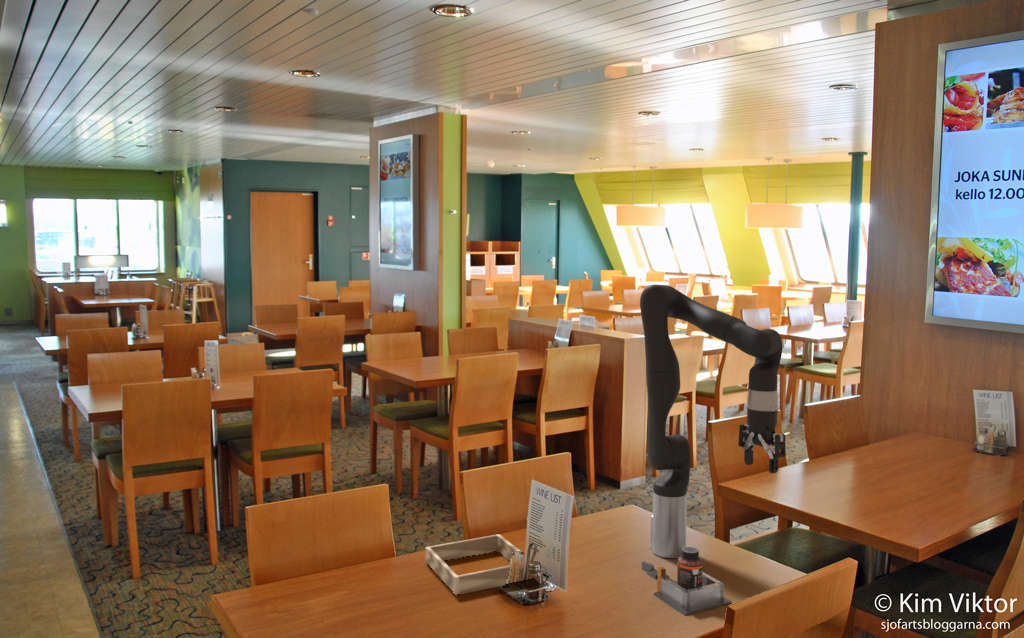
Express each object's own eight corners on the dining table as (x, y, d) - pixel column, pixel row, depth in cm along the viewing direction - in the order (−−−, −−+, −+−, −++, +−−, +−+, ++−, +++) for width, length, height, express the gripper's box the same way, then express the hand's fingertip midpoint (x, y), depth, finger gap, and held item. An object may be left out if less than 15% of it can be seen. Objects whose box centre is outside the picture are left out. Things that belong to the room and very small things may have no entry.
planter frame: (425, 563, 206) (425, 547, 205) (499, 549, 215) (499, 534, 215) (455, 595, 186) (455, 577, 186) (534, 578, 195) (534, 561, 195)
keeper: (653, 594, 186) (653, 568, 186) (698, 583, 192) (698, 558, 192) (684, 615, 175) (685, 588, 175) (731, 603, 181) (732, 576, 181)
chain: (639, 568, 202) (639, 562, 201) (646, 567, 203) (646, 560, 202) (672, 589, 189) (672, 582, 189) (679, 587, 190) (679, 581, 190)
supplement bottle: (702, 601, 181) (703, 555, 180) (677, 599, 183) (677, 553, 182) (701, 590, 187) (702, 546, 186) (676, 588, 188) (677, 544, 187)
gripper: (731, 403, 199) (730, 463, 201) (772, 413, 187) (770, 477, 188) (753, 400, 203) (752, 460, 204) (794, 410, 190) (792, 473, 191)
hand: (760, 468), depth 196 cm, fingers open, 8 cm apart
